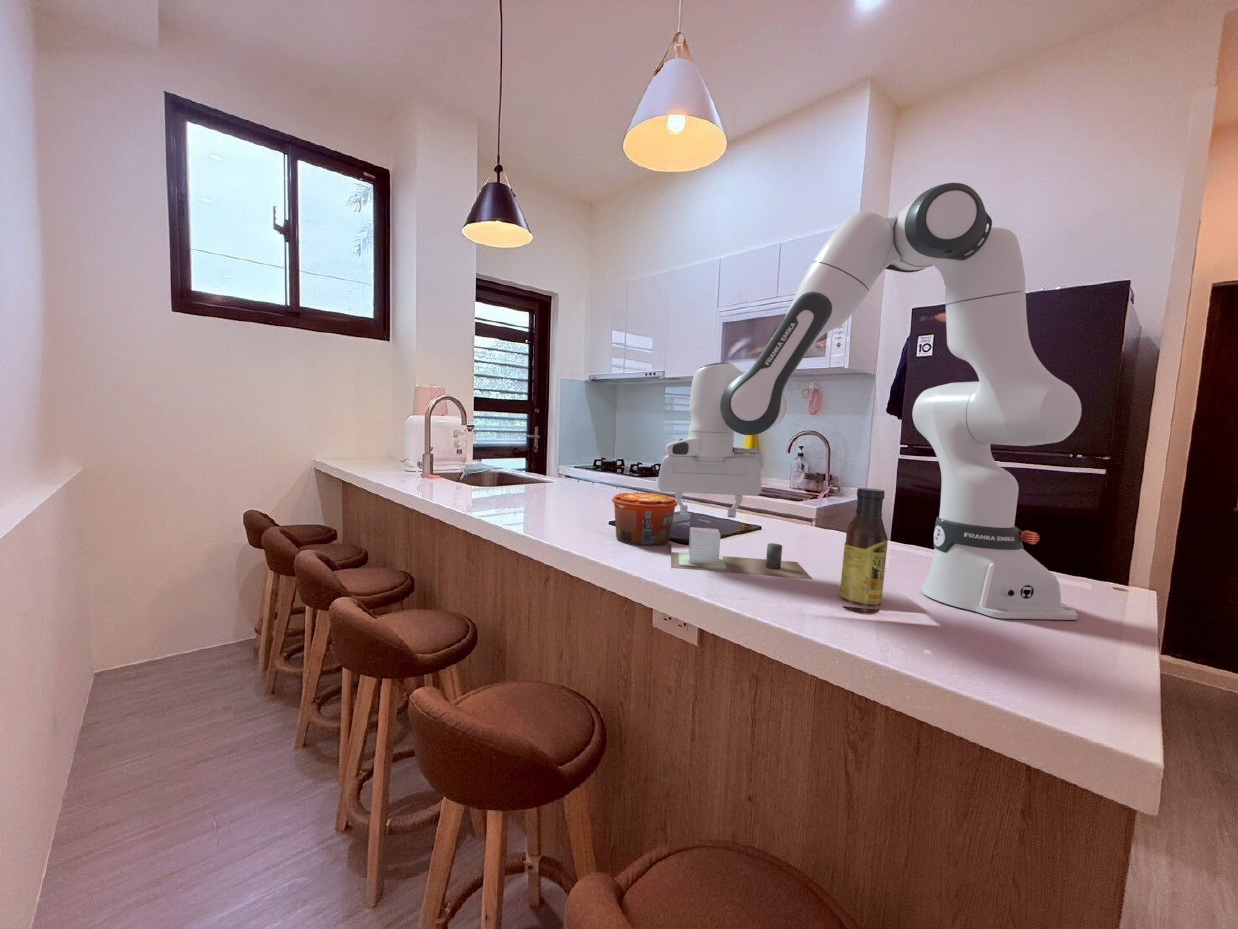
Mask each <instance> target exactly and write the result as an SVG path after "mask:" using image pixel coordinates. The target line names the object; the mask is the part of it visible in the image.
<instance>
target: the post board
mask: <svg viewBox="0 0 1238 929" xmlns="http://www.w3.org/2000/svg"><path fill="white" fill-rule="evenodd" d="M766 546H767V547H766V557H765V558H766V559H765V558H763V559H762V558H753V557H752V558H751V557H741V556H739V557H738V556H727V555H726V556H725V555H719V564H718V565H706V564H693V563H689V557H688V553H689V552H688V553H687V552H675V551H671V552H670V553H671V554H670V569H682V570H683V569H684V570H693V571H694V570H696V571H706V572H707V571H708V572H718V573H733V574H743V575H744V574H746V575H753V576H754V575H755V576H756V575H757V576H758V575H759V576H767V577H768V576H769V577H779V578H791V579H792V578H793V579H805V580H813V577H811V575H810V574H809V573H808V572H807V571H806V570H805V569H804V568H803V566H802V565H801V564H799V563H798V561H793V560H792V561H791V560H790V561H789V560H788V561H787V560H782V556H783V554H782V553H783V545H782V544H779V543H769V542H768V543H767V545H766Z"/></svg>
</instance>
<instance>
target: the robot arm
mask: <svg viewBox="0 0 1238 929" xmlns="http://www.w3.org/2000/svg"><path fill="white" fill-rule="evenodd" d="M985 208H986V207H985V205H984V202H983V200H982V199H981V197H980V195H979V193H977V191H976V190H975V189H973V187H971V186H969V185H968V184H965V183H961V182H948V183H943V184H939V185H935V186H934V187H930V188H928V189H927V190H925V191H923V192H922V193H921V194H920V195H919V196H918V197H916V198H914V199H913V200H911V201H910V202H909V203H908V204H906V205H905V207H903V208H902V209H901V210H900V212H898V213H897V214H896V215H895V216H893V217H890V218H889V217H883V216H882V215H879V214H878V213H875V212H871V211H858V212H855V213H852V214H850V215H849V216H847V217H846V218H845V219H844V220H843V221H842V222H841V223H840V224H839V225H838V226H837V227H836V229H835V230H834V231H833V233H831V235H830V236H829V238H827V240H826V241H825V242H824V244H823V246H822V247H821V248H820V250H819V251H818V252H817V254H816V255H815V257H814V259H813V260H812V262H811V263H810V264H809V267H808V269H807V270H806V272H805V273H804V275H803V277H802V279H801V282H800V283H799V285H798V287H797V289H796V292H795V294H794V297H793V298H792V301H791V304H790V306H789V307H788V310H787V312H786V314H785V316H784V318H783V320H782V321H781V323H780V324H779V326H778V328H777V329H776V331H775V332H774V333H773V335H772V337H771V339H770V340H769V341H768V343H767V344H766V346H765V347H764V348H763V350H762V352H761V353H760V355H759V356H758V358H757V359H756V360H755V362H754V363H753V364H752V366H751V367H750V368H749V369H747V370H746V371H745V372H744V371H742V370H741V369H739V368H737V366H735V365H734V364H733V363H730V362H726V361H725V362H724V361H723V362H714V363H710V364H706V365H703V366H701V367H699V368H698V369H697V370H696V371H694V373H693V378H692V382H691V385H690V386H691V387H690V395H689V412H690V413H689V414H690V424H689V427H688V436H687V437H686V438H680V439H678V440H676V441H672V442H669V443H667V444H666V445H665V453H666V454H667V455H665V456H664V458H663V459H662V461H661V462H660V469H659V472H658V479H657V480H658V481H657V488H658V490H659V492H663V493H675V494H674V497H675V501H677V502H678V506H679V507H680V508H679V515H680V516H688V510H689V509H688V505H687V504H683V501H682V498H683V493H685V494H704V495H705V494H706V495H707V494H709V495H726V496H727V495H730V496H733V499H734V500H735V502H734V503H733V505H732V506H731V507H727V514H726V516H727V518H732V519H733V518H736V517H737V516H736V515H737V509H739V506H740V505H741V504H742V502H743V496H748V497H751V496H752V497H753V496H754V497H757V496H759V495H760V494H761V493H762V490H763V489H762V484H763V483H762V473H761V471H762V470H763V468H764V466H765V464H764V463H765V457H764V454H763V453H762V452H761V451H760V450H758V449H757V448H755V447H754V448H753V447H752V448H745V447H734V441H735V434H734V433H737V434H739V435H744V436H754V435H755V436H756V435H759V434H762V433H763V432H766V431H769V430H770V429H772V428H775V427H776V426H777V425H779V423H780V422H781V421H782V420H783V419H784V416H785V415H786V411H787V402H786V398H785V395H784V394H783V393H784V390H785V388H786V385H787V383H788V382H789V380H790V379H791V377H792V376H793V374H794V372H796V369H797V368H798V367H799V365H801V362H802V361H803V359H804V358H805V356H806V355H807V353H808V352H809V351H810V349H811V348H812V346H813V345H814V344H815V343H816V342H817V341H818V340H819V339H821V337H822V336H824V335H825V334H827V333H829V332H831V331H833V330H835V329H837V328H840V327H841V326H842V325H843V324H844V323H845V322H846V321H847V320H848V319H849V318H850V317H851V316H852V315H853V314H854V312H855V311H856V310H857V309H858V308H859V307H860V305H861V304H862V302H863V301H864V300H865V298H866V296H867V295H868V293H869V292H870V291H871V289H872V287H873V286H874V284H875V283H876V280H877V279H878V278H879V276H881V274H882V273H883V272H884V271H885V270H890V271H893V272H899V273H906V274H907V273H908V274H909V273H916V272H920V271H922V270H923V271H924V270H925V269H927V268H930V267H933V266H934V268H936V269H937V271H939V273H940V275H941V278H942V279H943V283H944V286H945V291H944V293H945V295H944V296H945V297H944V298H945V300H944V301H945V324H946V326H945V327H946V344H947V348H948V350H949V352H950V353H951V354H952V355H953V356H955V357H956V358H958V359H960V360H963V361H965V362H966V363H969V365H970V366H971V367H972V369H974V371H975V373H976V375H977V377H978V380H979V381H965V382H964V381H962V382H949V383H946V384H942V385H937V386H934V387H930V388H927V389H925V390H923V391H922V392H921V393H920V394H919V395H918V397H917V398H916V399H915V401H914V404H913V407H912V412H911V414H912V420H913V424H914V427H915V429H916V430H917V431H918V432H919V434H921V435H922V436H923V437H924V438H925V439H926V440H927V442H928V443H929V444H930V445H931V447H932V449H933V450H934V453H935V456H936V458H937V460H938V464H939V468H940V475H941V476H940V477H941V487H940V488H941V490H940V505H939V515H938V516H937V517H936V519H935V526H934V532H933V548H934V549H933V554H932V559H931V562H930V565H929V569H928V572H927V574H926V577H925V580H924V582H923V585H922V586H921V589H920V592H921V593H922V594H924V595H925V596H927V597H929V598H931V599H933V600H935V601H936V602H940V603H943V604H946V605H950V606H952V607H956V608H960V609H963V610H968V611H973V612H976V613H979V614H982V615H985V616H988V617H992V618H996V619H1009V620H1011V619H1013V620H1014V619H1015V620H1018V619H1019V620H1020V619H1021V620H1024V619H1025V620H1060V621H1061V620H1067V621H1069V620H1070V621H1071V620H1072V621H1073V620H1075V621H1076V620H1078V613H1077V612H1076V609H1073V608H1072V607H1071V606H1068V605H1067V604H1065V603H1063V602H1061V600H1062V598H1061V597H1062V595H1061V586H1060V582H1059V580H1058V579H1057V576H1056V575H1055V574H1054V573H1053V572H1051V571H1050V570H1048V568H1047V567H1045V565H1043V564H1041V562H1039V561H1038V560H1037V559H1036V558H1034V556H1032V555H1031V554H1030V553H1029V552H1027V551H1026V550H1025V549H1024V545H1023V542H1025V543H1027V544H1030V545H1036V544H1037V543H1038V542H1039V541H1040V535H1039V534H1038V533H1037V532H1035V531H1030V530H1022V529H1020V528H1019V527H1018V526H1015V522H1016V514H1017V505H1018V498H1019V488H1020V487H1019V483H1018V480H1017V479H1016V477H1015V476H1014V475H1013V474H1012V473H1010V472H1009V471H1008V470H1006V469H1005V468H1003V467H1001V466H999V464H997V462H996V461H995V458H994V457H993V454H992V451H991V445H1000V446H1001V445H1003V446H1016V447H1017V446H1019V447H1030V446H1039V445H1046V444H1056V443H1059V442H1062V441H1064V440H1065V439H1067V438H1068V437H1069V436H1070V435H1071V434H1072V433H1073V432H1074V431H1075V429H1076V428H1077V427H1078V425H1079V423H1080V420H1081V417H1082V402H1081V399H1080V398H1079V396H1078V393H1077V392H1076V391H1075V390H1074V388H1073V387H1072V386H1071V385H1069V384H1068V383H1066V382H1064V381H1063V380H1062V379H1059V378H1058V377H1056V376H1055V375H1054V374H1052V373H1051V372H1050V371H1049V370H1048V369H1047V368H1046V367H1045V366H1044V365H1043V363H1042V362H1041V361H1040V359H1039V357H1038V356H1037V354H1036V353H1035V351H1034V348H1033V346H1032V343H1031V340H1030V337H1029V335H1030V334H1029V327H1028V326H1029V325H1028V319H1027V318H1028V316H1027V297H1026V296H1027V295H1026V275H1025V268H1024V261H1023V255H1022V252H1021V247H1020V243H1019V240H1018V237H1017V236H1016V234H1015V233H1013V231H1011V230H1010V229H1007V228H1005V227H1004V228H1003V227H995V226H994V227H993V220H992V218H991V216H990V214H988V212H987V211H986V209H985ZM987 226H988V227H987Z"/></svg>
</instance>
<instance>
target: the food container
mask: <svg viewBox="0 0 1238 929" xmlns="http://www.w3.org/2000/svg"><path fill="white" fill-rule="evenodd" d="M611 501H612V502H613V506H614V522H615V523H614V524H615V537H616V539H617V540H618V541H620V542H621V543H624V544H628V545H632V546H638V547H639V546H641V547H654V546H655V547H657V546H662V545H663V546H664V545H666V544H667V543H669V540H670V534H671V531H672V524H673V519H674V515H675V510H676V507H677V506H679V504H678V502H677V500H676V499H675V498H674V496H670V497H669V496H668V495H667V494H666V495H665V494H658V493H655V494H653V493H650V492H649V493H648V492H634V493H633V492H632V493H629V492H621V493H618V494H615V495H614V497H612V499H611ZM612 502H611V503H612Z"/></svg>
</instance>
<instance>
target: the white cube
mask: <svg viewBox="0 0 1238 929" xmlns="http://www.w3.org/2000/svg"><path fill="white" fill-rule="evenodd" d="M689 528H690V529H689V537H688V540H689V542H688V557H689V563H693V564H706V565H718V564H719V556H720V551H721V550H720V548H721V546H720V545H721V533H720V530H719V529H718V528H708V527H693V526H691V527H689Z"/></svg>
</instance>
